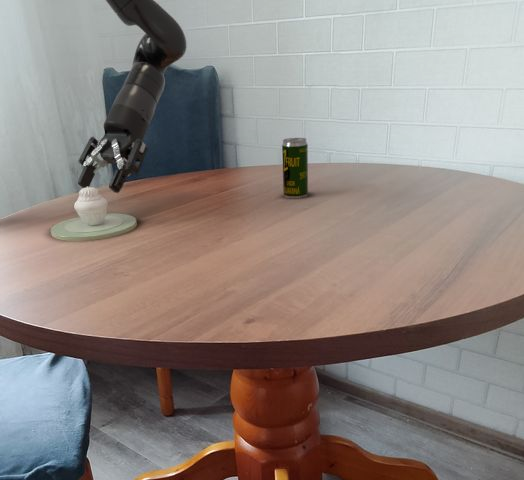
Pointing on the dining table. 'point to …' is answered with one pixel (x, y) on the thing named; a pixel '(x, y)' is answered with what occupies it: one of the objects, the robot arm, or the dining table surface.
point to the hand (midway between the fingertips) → (97, 188)
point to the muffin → (91, 206)
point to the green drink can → (295, 167)
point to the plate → (93, 228)
